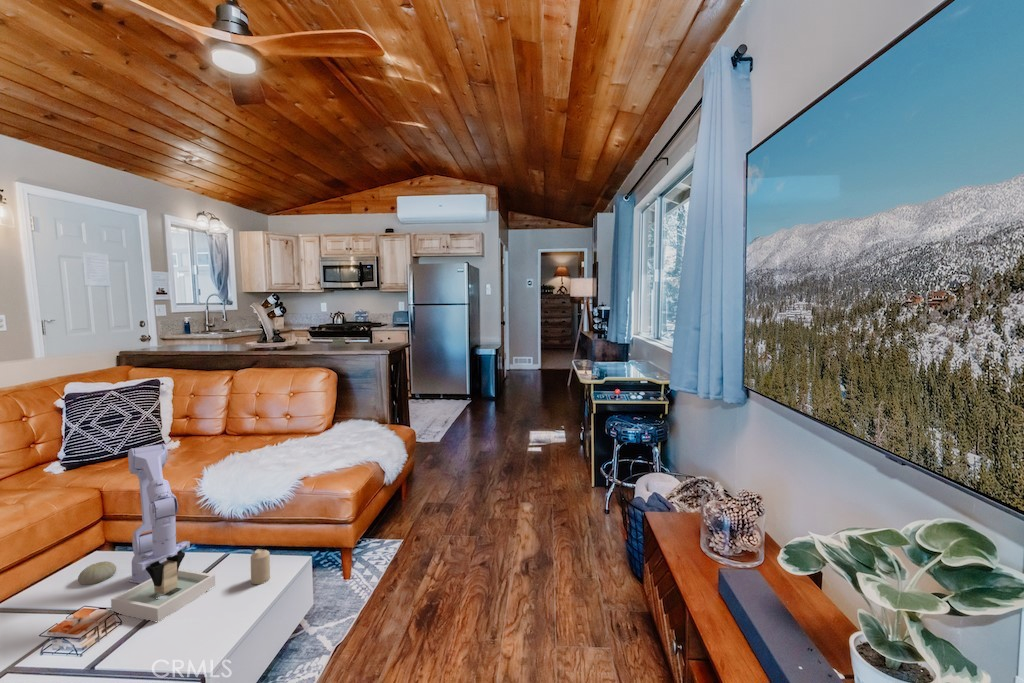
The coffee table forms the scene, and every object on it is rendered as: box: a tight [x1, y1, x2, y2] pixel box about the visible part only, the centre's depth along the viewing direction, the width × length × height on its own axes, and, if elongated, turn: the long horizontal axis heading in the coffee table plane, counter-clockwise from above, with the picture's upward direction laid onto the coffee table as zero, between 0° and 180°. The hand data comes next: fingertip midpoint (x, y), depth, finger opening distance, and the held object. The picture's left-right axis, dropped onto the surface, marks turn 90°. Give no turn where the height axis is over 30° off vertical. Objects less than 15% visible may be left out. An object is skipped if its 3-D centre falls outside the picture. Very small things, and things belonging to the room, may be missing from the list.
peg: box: [154, 560, 177, 595], centre depth 136 cm, size 4×4×8 cm
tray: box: [110, 568, 216, 623], centre depth 136 cm, size 18×18×4 cm
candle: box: [250, 548, 271, 585], centre depth 147 cm, size 6×6×10 cm
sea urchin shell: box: [77, 561, 117, 585], centre depth 148 cm, size 9×8×8 cm
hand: (165, 581), depth 136 cm, fingers closed on peg, 4 cm apart
